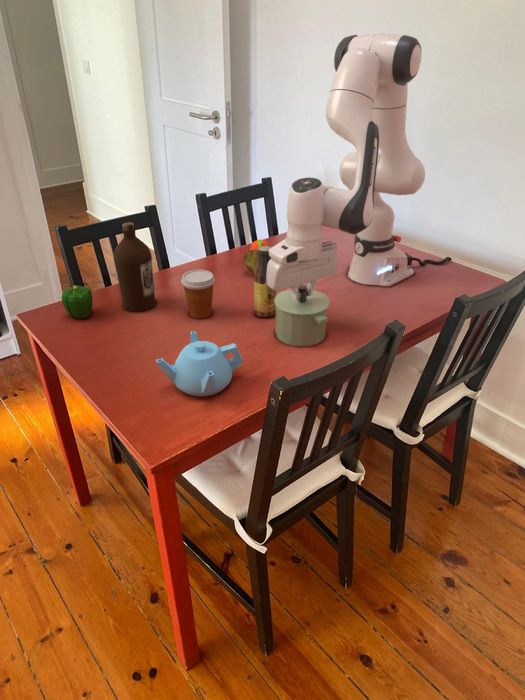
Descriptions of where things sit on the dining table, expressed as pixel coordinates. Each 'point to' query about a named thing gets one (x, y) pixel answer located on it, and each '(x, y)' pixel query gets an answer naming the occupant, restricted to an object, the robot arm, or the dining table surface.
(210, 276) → the disposable coffee cup
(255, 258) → the potato
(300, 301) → the lid
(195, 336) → the teapot
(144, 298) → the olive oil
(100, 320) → the dining table surface
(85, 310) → the bell pepper
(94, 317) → the dining table surface
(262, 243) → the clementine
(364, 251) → the robot arm
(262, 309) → the sauce bottle
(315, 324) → the pot
